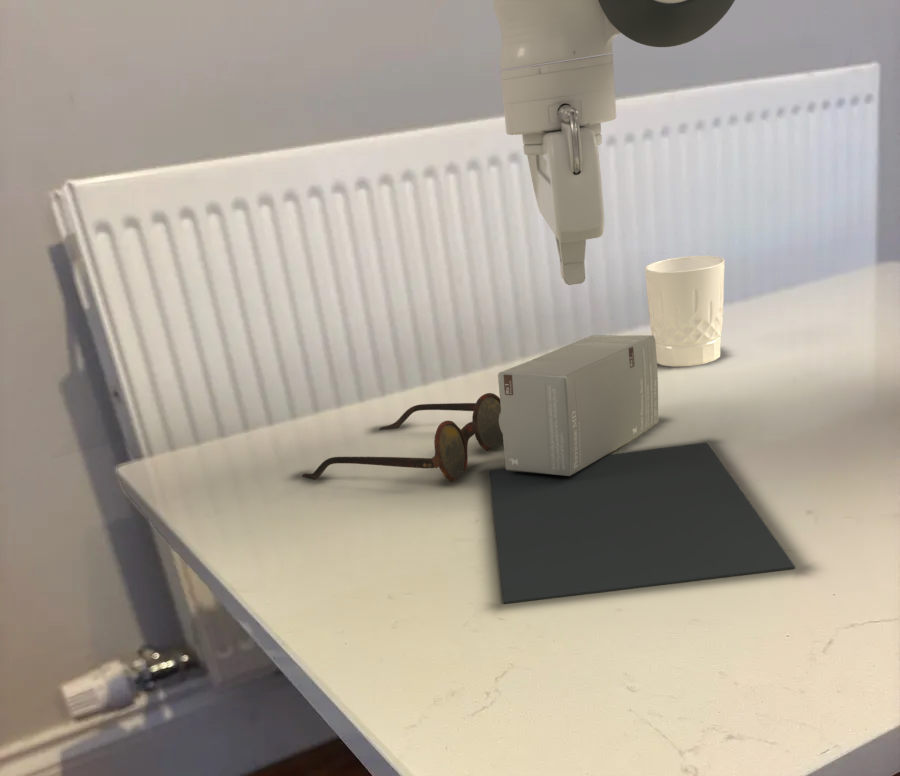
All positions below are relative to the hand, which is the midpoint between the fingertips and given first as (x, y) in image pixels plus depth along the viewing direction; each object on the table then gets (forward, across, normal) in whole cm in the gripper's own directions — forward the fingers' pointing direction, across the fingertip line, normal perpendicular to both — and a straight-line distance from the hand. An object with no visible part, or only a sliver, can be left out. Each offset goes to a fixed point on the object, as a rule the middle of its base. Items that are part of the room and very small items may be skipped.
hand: (573, 281), depth 88 cm
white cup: (+13, +17, -13) cm, 25 cm away
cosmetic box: (+9, 0, -4) cm, 10 cm away
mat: (+13, -22, 0) cm, 25 cm away
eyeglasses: (+13, -3, +16) cm, 21 cm away
